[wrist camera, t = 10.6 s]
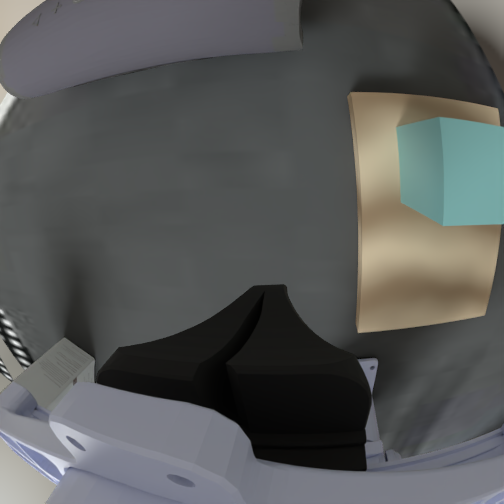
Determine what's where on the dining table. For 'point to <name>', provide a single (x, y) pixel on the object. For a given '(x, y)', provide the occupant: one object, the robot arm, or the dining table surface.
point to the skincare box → (57, 373)
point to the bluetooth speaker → (136, 38)
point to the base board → (412, 225)
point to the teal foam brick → (453, 170)
